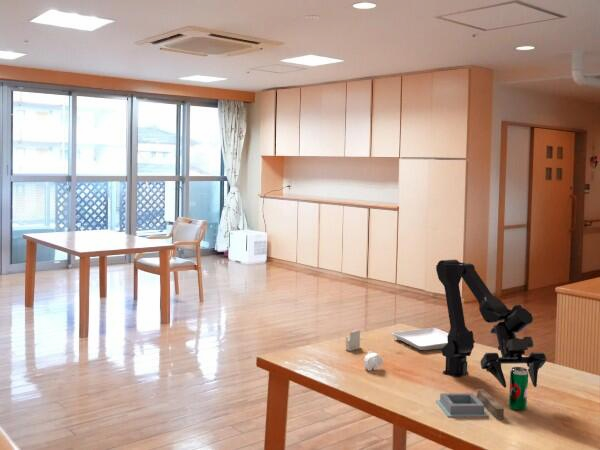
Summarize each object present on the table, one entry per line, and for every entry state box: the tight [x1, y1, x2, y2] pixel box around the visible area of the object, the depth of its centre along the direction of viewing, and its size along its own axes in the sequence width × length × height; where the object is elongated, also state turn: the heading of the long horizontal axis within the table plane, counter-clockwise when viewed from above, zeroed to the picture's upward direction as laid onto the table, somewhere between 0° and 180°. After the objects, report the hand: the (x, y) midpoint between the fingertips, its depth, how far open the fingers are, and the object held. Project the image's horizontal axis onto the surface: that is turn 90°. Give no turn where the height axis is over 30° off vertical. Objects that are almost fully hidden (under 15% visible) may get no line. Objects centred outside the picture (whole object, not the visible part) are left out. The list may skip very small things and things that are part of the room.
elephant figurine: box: [362, 350, 384, 372], centre depth 230 cm, size 7×8×6 cm
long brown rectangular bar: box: [476, 388, 505, 420], centre depth 196 cm, size 16×2×3 cm, turn 5°
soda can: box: [508, 366, 529, 412], centre depth 196 cm, size 5×5×12 cm
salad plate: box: [391, 327, 449, 351], centre depth 264 cm, size 21×21×3 cm
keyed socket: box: [435, 392, 489, 418], centre depth 195 cm, size 12×12×3 cm
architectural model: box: [343, 329, 362, 352], centre depth 255 cm, size 3×7×7 cm, turn 132°
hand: (520, 386), depth 195 cm, fingers open, 9 cm apart
